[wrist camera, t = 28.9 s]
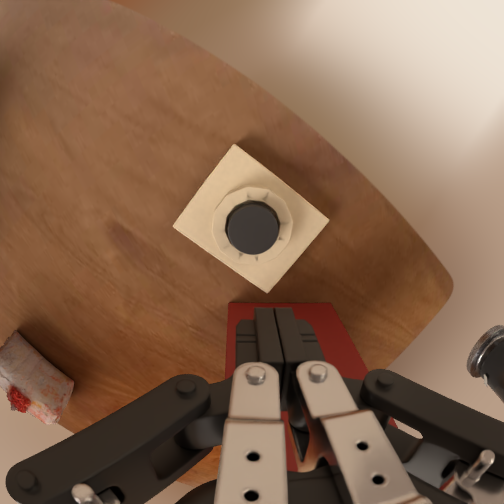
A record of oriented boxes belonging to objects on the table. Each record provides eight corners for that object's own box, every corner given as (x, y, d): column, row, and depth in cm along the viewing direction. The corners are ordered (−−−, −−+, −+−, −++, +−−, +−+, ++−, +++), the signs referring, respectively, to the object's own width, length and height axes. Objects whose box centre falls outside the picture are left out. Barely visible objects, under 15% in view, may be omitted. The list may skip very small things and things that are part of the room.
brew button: (285, 222, 29) (288, 226, 27) (256, 258, 30) (257, 264, 28) (248, 193, 28) (249, 195, 26) (218, 230, 28) (217, 235, 27)
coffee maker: (312, 397, 41) (357, 567, 15) (228, 399, 40) (227, 582, 14) (331, 301, 35) (439, 508, 10) (227, 300, 35) (218, 549, 9)
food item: (83, 382, 39) (59, 427, 29) (66, 401, 40) (45, 442, 31) (17, 323, 35) (-17, 359, 26) (6, 349, 37) (-23, 383, 27)
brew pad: (324, 215, 32) (335, 224, 28) (265, 285, 34) (268, 301, 31) (234, 144, 29) (233, 142, 26) (176, 221, 32) (168, 231, 28)
